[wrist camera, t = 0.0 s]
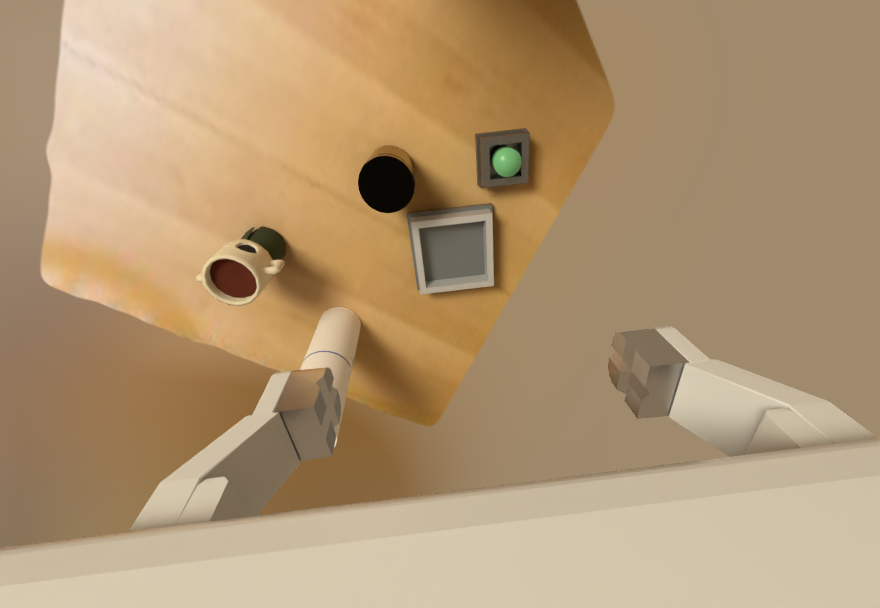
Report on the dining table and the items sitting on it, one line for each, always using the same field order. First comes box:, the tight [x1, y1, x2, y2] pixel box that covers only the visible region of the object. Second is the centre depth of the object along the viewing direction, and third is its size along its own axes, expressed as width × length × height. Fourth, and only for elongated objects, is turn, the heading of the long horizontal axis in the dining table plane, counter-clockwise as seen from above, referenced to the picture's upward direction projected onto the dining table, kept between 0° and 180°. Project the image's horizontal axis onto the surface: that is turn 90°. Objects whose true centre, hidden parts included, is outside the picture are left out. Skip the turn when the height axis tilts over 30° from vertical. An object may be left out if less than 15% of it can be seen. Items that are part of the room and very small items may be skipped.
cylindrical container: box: [300, 307, 361, 447], centre depth 55 cm, size 7×7×25 cm
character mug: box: [196, 227, 285, 306], centre depth 52 cm, size 11×7×13 cm, turn 95°
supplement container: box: [358, 146, 415, 213], centre depth 49 cm, size 7×7×10 cm
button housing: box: [475, 128, 529, 188], centre depth 52 cm, size 7×7×4 cm
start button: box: [491, 146, 522, 177], centre depth 50 cm, size 4×4×2 cm
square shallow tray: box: [407, 203, 494, 294], centre depth 58 cm, size 13×13×4 cm
